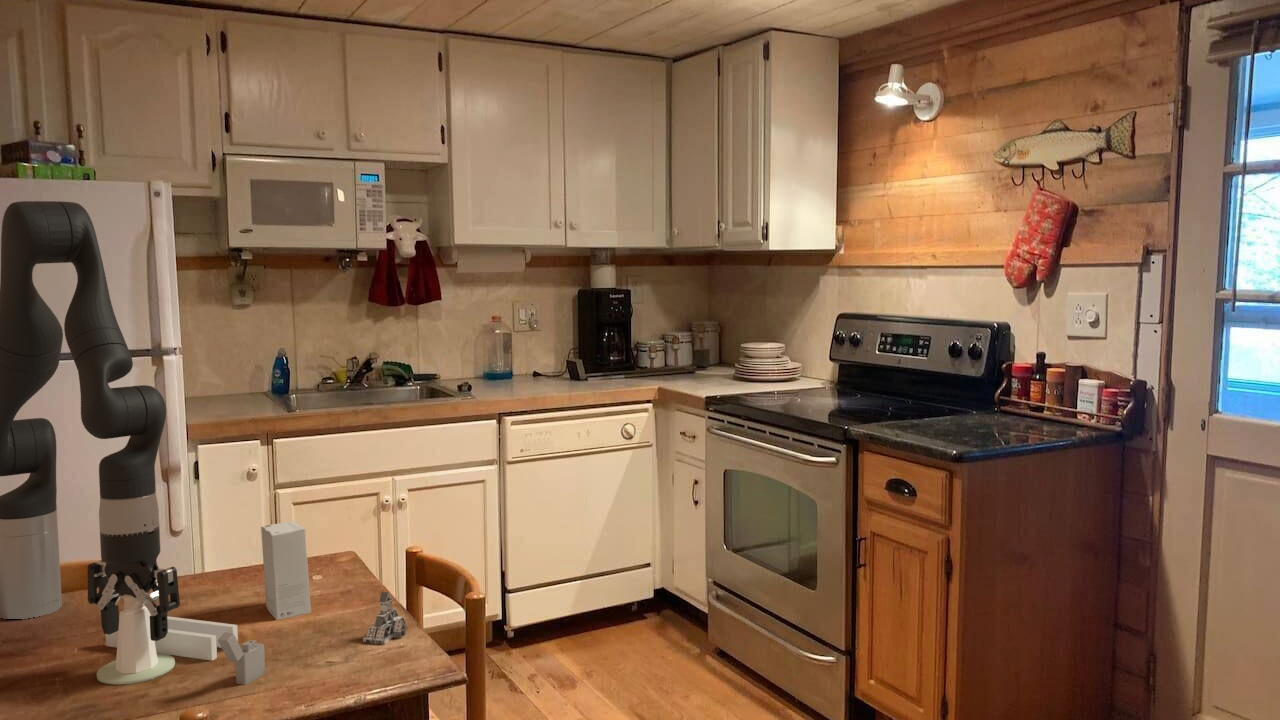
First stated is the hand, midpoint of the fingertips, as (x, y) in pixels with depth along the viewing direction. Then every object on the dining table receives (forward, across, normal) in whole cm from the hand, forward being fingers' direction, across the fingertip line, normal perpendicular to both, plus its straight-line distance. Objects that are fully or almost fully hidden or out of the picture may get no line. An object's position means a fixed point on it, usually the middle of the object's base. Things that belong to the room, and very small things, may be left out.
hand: (135, 635), depth 136 cm
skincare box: (+5, +5, +27) cm, 28 cm away
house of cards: (+6, +30, +21) cm, 37 cm away
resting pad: (+5, 0, 0) cm, 5 cm away
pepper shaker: (+5, 0, 0) cm, 5 cm away
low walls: (+5, -2, +9) cm, 10 cm away
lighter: (+5, +18, +1) cm, 19 cm away
